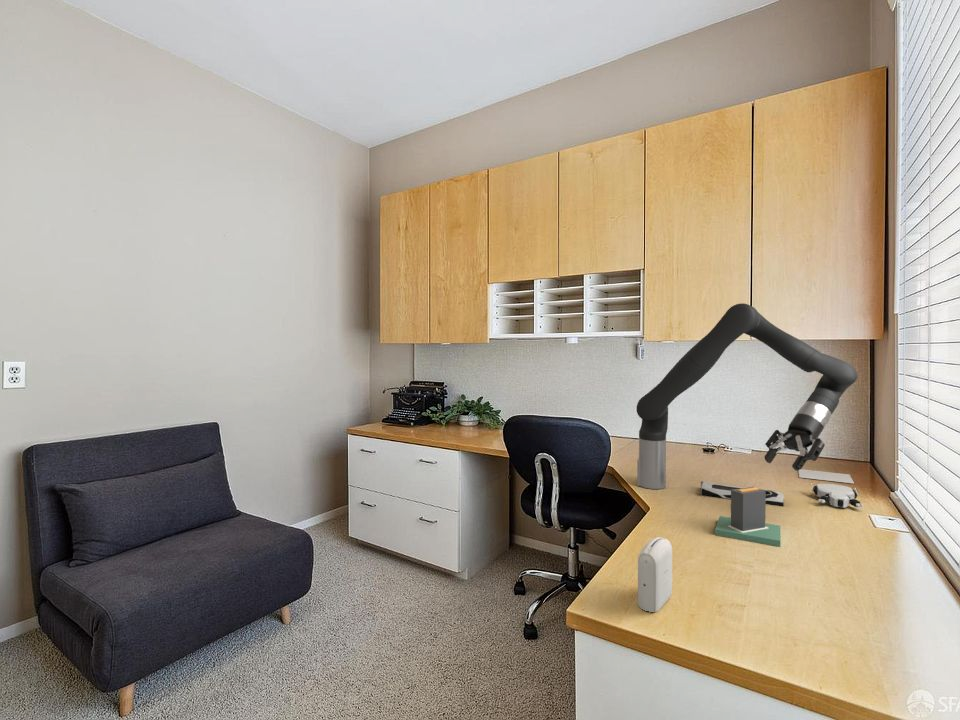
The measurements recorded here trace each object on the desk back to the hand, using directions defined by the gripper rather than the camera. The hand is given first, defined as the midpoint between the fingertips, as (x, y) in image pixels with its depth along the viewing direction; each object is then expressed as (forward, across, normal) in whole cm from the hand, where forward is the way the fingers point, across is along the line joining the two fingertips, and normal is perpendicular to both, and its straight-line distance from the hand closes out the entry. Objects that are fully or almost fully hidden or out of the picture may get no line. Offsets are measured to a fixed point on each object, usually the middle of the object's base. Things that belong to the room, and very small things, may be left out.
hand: (780, 465), depth 137 cm
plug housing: (+20, +1, +1) cm, 20 cm away
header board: (+22, +1, +2) cm, 22 cm away
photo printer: (+53, +21, -32) cm, 66 cm away
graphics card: (+6, -22, +20) cm, 31 cm away
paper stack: (-24, -30, +52) cm, 65 cm away
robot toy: (-10, -7, +37) cm, 39 cm away
